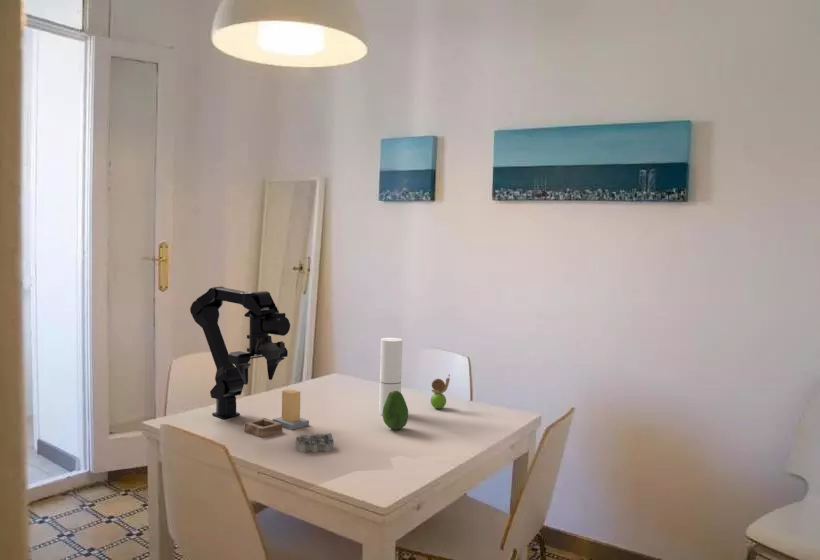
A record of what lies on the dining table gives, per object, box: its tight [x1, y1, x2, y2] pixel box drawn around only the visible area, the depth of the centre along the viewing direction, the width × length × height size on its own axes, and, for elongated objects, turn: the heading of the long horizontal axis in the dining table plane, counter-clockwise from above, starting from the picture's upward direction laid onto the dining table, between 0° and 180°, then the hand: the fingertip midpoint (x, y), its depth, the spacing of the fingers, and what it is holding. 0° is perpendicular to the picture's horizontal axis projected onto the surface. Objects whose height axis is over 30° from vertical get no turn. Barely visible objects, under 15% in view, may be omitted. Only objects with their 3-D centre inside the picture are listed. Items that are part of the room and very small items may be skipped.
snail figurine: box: [430, 374, 451, 410], centre depth 231 cm, size 5×6×12 cm
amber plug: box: [281, 388, 301, 422], centre depth 207 cm, size 4×4×9 cm
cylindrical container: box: [378, 337, 403, 416], centre depth 223 cm, size 7×7×25 cm
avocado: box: [381, 391, 409, 431], centre depth 206 cm, size 8×8×12 cm
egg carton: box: [295, 432, 335, 453], centre depth 186 cm, size 10×7×4 cm
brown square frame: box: [243, 417, 283, 438], centre depth 200 cm, size 8×8×2 cm
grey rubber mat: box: [272, 416, 310, 431], centre depth 208 cm, size 9×7×2 cm
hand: (258, 382), depth 207 cm, fingers open, 9 cm apart
